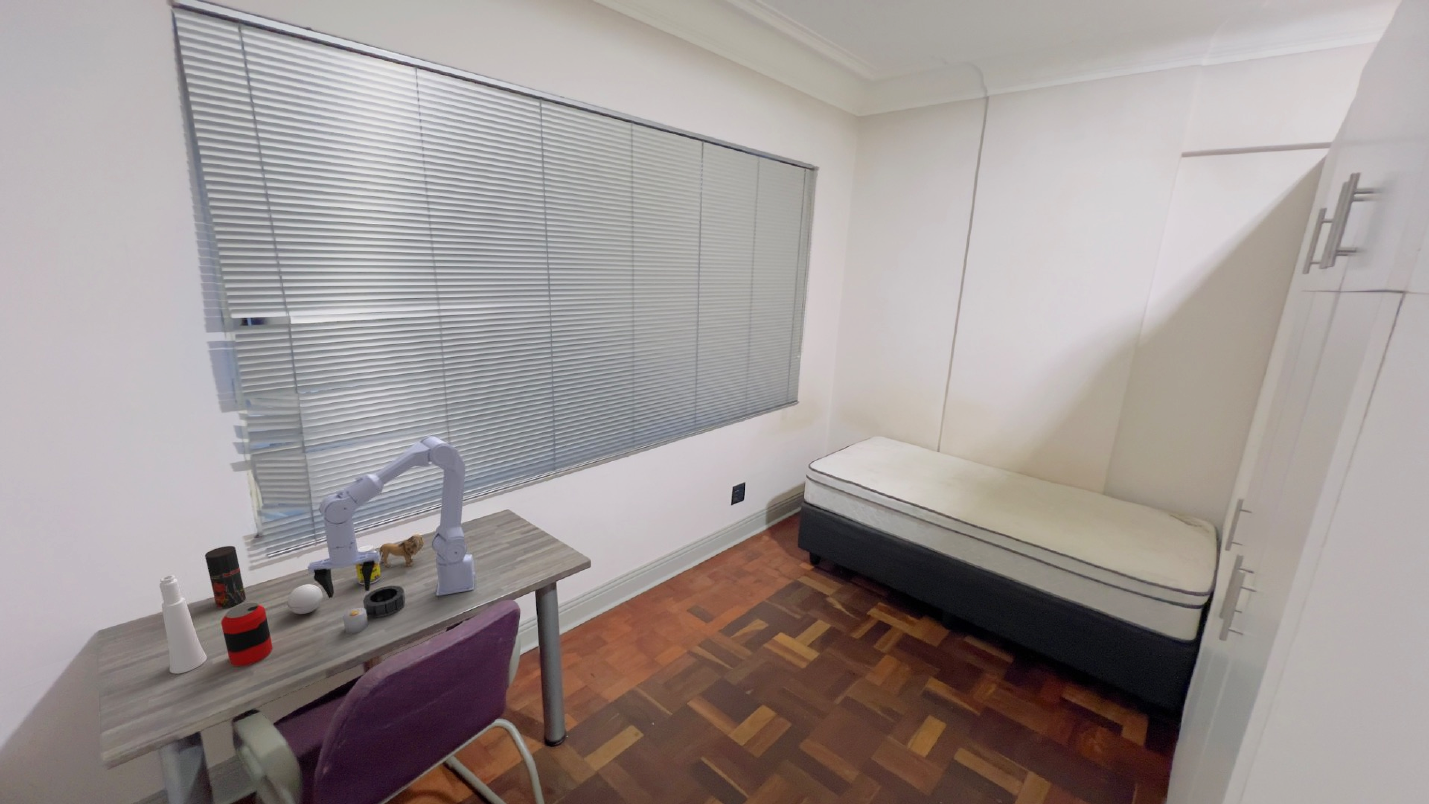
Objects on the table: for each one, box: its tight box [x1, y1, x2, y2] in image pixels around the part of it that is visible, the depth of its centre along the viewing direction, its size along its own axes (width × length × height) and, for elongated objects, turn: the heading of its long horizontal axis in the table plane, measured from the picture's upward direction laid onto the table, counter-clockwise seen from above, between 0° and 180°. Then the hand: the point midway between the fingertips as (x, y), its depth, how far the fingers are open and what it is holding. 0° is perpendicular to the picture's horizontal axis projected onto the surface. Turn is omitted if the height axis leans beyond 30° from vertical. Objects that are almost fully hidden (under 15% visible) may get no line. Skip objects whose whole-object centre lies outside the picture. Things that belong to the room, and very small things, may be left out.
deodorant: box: [204, 545, 247, 610], centre depth 142 cm, size 6×6×15 cm
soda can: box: [220, 602, 273, 667], centre depth 123 cm, size 8×8×12 cm
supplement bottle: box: [355, 544, 382, 586], centre depth 153 cm, size 6×6×10 cm
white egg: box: [280, 583, 324, 615], centre depth 138 cm, size 10×7×7 cm
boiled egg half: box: [342, 607, 369, 635], centre depth 134 cm, size 5×5×4 cm
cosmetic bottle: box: [159, 574, 208, 675], centre depth 118 cm, size 6×6×22 cm
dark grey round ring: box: [362, 585, 406, 619], centre depth 142 cm, size 9×9×4 cm
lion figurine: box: [378, 534, 424, 568], centre depth 163 cm, size 15×5×9 cm, turn 102°
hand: (349, 592), depth 133 cm, fingers open, 7 cm apart
